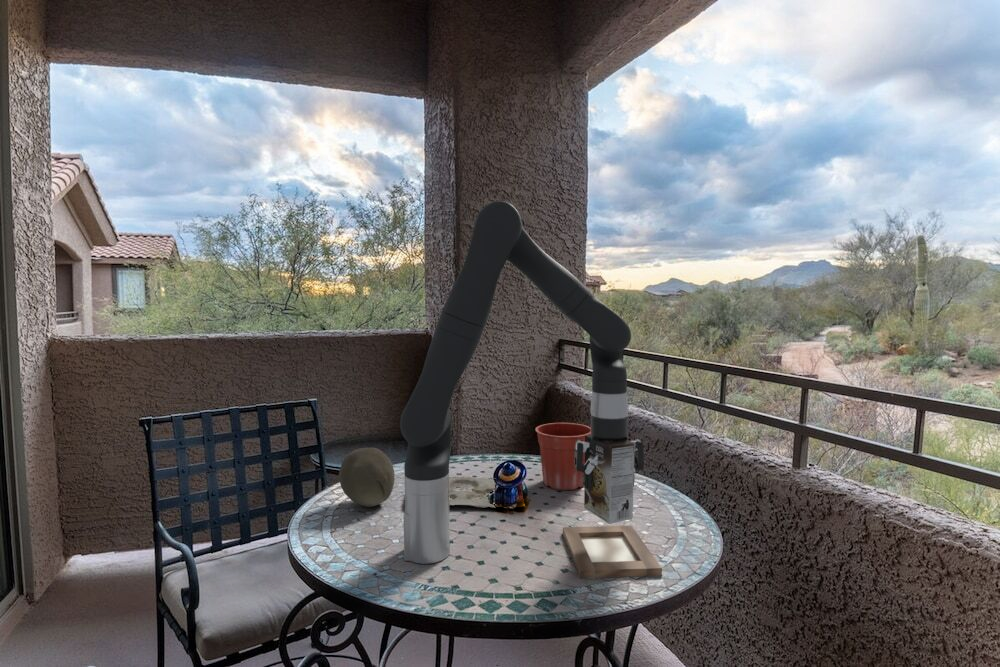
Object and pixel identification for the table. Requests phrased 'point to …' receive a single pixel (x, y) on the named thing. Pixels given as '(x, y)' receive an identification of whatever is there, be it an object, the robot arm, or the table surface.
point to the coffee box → (611, 480)
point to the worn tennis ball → (367, 476)
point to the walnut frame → (610, 552)
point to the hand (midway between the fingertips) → (608, 489)
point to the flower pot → (561, 454)
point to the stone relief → (464, 497)
